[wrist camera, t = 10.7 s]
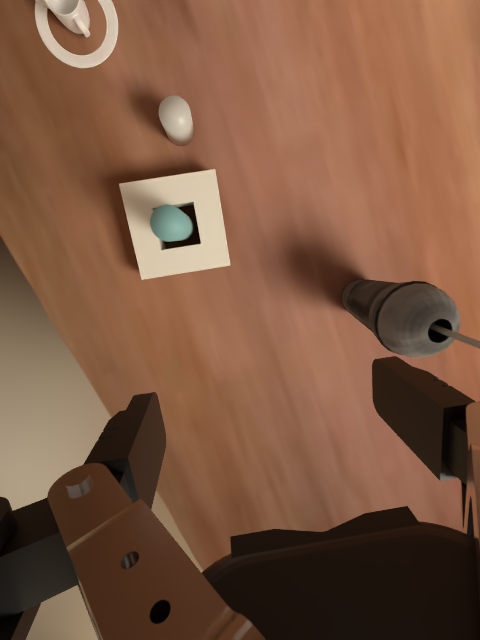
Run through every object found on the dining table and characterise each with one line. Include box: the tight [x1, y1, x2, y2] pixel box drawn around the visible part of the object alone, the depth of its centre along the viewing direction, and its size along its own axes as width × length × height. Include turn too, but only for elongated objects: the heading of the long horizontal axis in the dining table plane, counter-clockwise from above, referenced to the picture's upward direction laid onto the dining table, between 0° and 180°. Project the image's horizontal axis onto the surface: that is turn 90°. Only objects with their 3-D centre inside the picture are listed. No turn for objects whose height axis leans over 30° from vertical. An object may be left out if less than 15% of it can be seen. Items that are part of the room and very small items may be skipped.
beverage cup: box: [342, 280, 480, 357], centre depth 31 cm, size 7×7×20 cm
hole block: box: [119, 169, 230, 280], centre depth 35 cm, size 10×10×4 cm
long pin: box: [150, 204, 194, 242], centre depth 32 cm, size 3×3×11 cm
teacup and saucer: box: [35, 0, 118, 68], centre depth 30 cm, size 9×8×4 cm
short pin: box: [159, 95, 194, 146], centre depth 32 cm, size 3×3×5 cm
